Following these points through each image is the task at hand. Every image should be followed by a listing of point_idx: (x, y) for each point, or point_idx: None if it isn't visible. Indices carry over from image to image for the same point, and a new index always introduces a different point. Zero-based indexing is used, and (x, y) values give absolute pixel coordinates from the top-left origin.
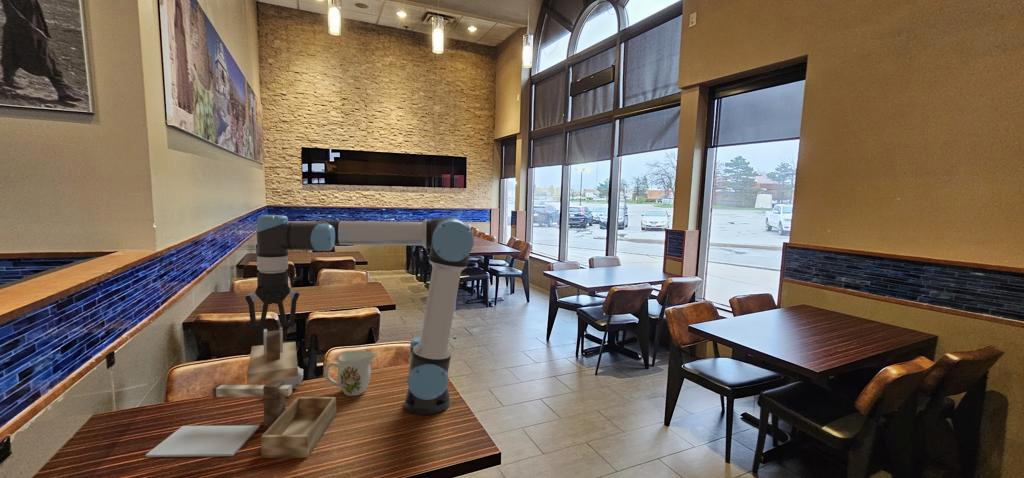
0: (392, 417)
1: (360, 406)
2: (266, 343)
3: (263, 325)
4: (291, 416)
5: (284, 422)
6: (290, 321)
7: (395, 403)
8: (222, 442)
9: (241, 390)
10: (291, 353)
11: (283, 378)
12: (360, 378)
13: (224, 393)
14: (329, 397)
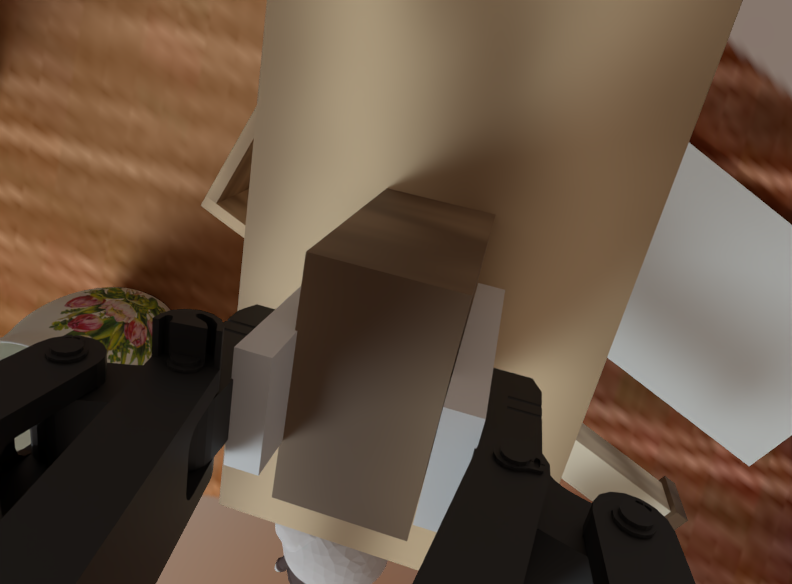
0: (48, 16)
1: (145, 195)
2: (467, 331)
3: (473, 497)
4: None
5: None
6: (41, 389)
7: (19, 128)
8: (666, 241)
9: None
10: (279, 274)
11: None
12: (73, 297)
13: (633, 470)
14: (226, 220)
